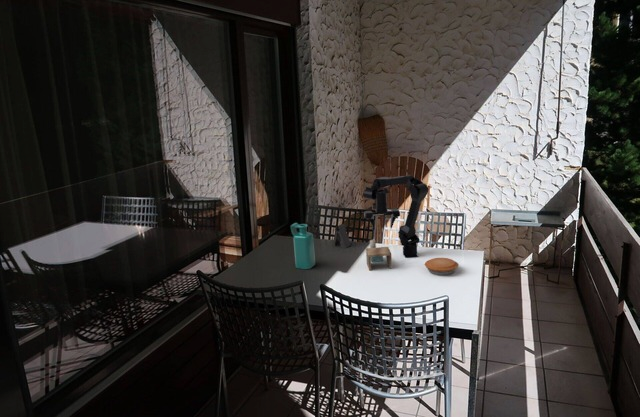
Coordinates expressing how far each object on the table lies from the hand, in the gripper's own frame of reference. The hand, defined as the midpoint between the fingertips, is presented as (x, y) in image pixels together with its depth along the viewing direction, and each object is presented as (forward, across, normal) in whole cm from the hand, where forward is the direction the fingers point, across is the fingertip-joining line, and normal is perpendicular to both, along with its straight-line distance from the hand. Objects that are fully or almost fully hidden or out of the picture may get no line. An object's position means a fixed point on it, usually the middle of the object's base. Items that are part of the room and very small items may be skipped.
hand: (382, 229), depth 278 cm
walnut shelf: (+11, +6, +26) cm, 29 cm away
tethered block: (+11, +6, +11) cm, 16 cm away
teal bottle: (+11, +43, +18) cm, 48 cm away
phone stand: (+11, +22, -10) cm, 27 cm away
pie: (+11, -22, +38) cm, 45 cm away
